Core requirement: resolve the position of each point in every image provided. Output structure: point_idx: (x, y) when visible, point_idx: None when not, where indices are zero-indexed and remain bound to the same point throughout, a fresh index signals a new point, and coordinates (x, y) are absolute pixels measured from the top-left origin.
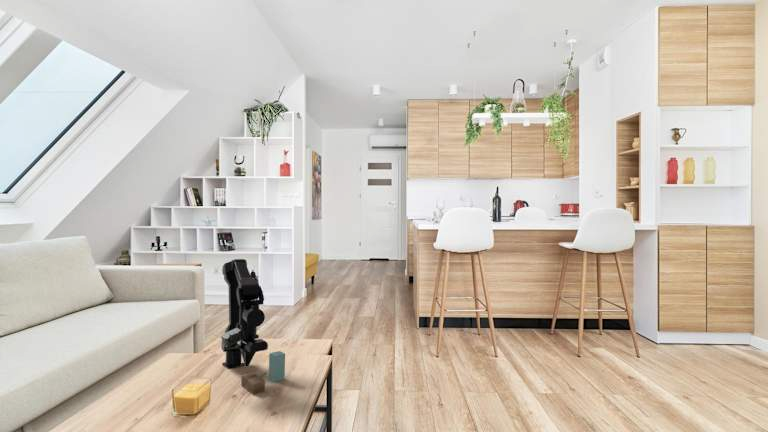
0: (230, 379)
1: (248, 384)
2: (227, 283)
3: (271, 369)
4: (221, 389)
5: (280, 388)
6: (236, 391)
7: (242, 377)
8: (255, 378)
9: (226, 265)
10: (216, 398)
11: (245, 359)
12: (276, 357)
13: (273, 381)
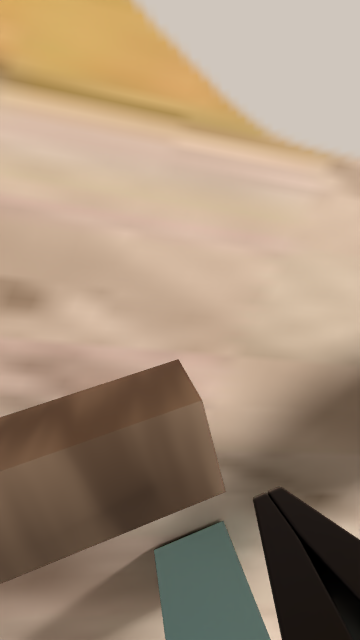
0: (332, 302)
1: (47, 431)
2: None
3: (215, 619)
4: (188, 217)
5: (43, 582)
6: (102, 319)
7: (177, 400)
8: (63, 516)
9: None
10: (7, 143)
11: (280, 625)
12: None
13: (162, 548)
